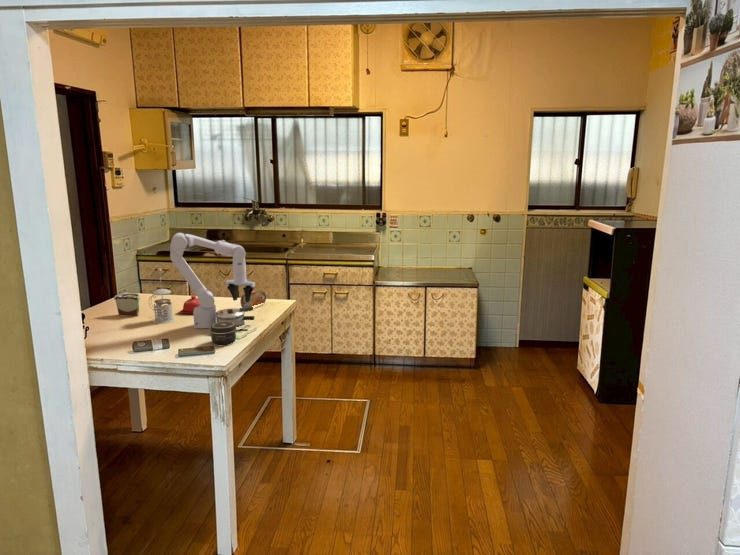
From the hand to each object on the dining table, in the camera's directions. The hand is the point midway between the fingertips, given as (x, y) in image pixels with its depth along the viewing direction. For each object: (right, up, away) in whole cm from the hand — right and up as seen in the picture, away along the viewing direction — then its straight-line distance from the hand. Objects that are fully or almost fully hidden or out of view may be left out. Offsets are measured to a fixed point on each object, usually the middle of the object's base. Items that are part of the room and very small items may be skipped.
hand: (241, 300), depth 235 cm
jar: (-1, -16, -23) cm, 28 cm away
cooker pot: (-1, -12, -5) cm, 13 cm away
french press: (-38, -10, +5) cm, 40 cm away
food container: (-58, -7, +15) cm, 60 cm away
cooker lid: (-2, -6, -6) cm, 8 cm away
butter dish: (-28, -7, +19) cm, 35 cm away
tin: (-1, -5, +27) cm, 27 cm away
